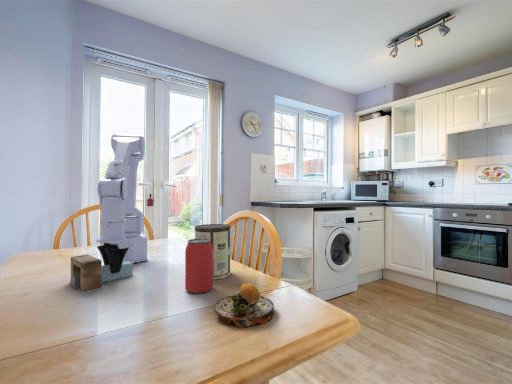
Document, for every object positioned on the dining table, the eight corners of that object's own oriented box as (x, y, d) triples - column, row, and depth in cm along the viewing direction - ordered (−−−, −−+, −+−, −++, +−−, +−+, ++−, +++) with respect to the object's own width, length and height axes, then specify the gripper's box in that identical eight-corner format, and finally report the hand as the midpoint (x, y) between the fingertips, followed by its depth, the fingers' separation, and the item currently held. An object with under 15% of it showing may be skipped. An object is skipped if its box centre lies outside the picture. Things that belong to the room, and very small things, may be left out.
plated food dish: (247, 297, 61) (247, 264, 61) (287, 314, 52) (287, 276, 52) (201, 313, 53) (201, 275, 53) (239, 336, 44) (239, 291, 44)
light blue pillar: (127, 273, 78) (127, 261, 78) (132, 275, 76) (132, 262, 76) (71, 285, 67) (71, 271, 67) (75, 288, 65) (75, 273, 65)
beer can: (217, 286, 67) (217, 238, 67) (204, 296, 61) (204, 243, 61) (194, 283, 69) (195, 237, 69) (179, 292, 63) (179, 241, 63)
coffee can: (208, 267, 84) (208, 223, 84) (236, 272, 80) (236, 224, 80) (186, 277, 75) (186, 226, 75) (217, 282, 70) (217, 228, 70)
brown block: (87, 278, 73) (87, 254, 73) (101, 286, 67) (101, 260, 67) (70, 282, 70) (70, 257, 70) (83, 291, 64) (83, 263, 64)
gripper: (87, 221, 75) (87, 269, 75) (107, 225, 66) (107, 280, 66) (114, 219, 81) (113, 264, 80) (136, 223, 71) (135, 274, 71)
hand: (112, 271), depth 73 cm, fingers closed on light blue pillar, 3 cm apart
